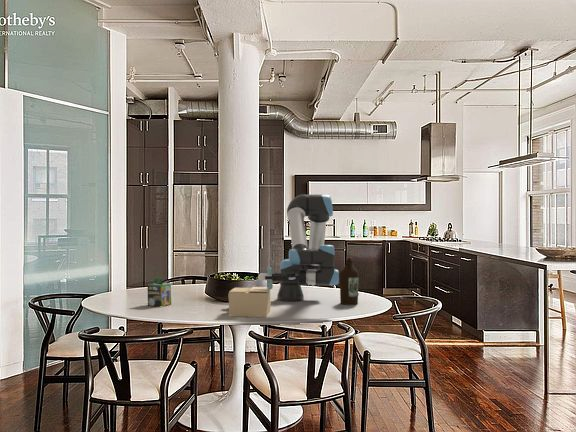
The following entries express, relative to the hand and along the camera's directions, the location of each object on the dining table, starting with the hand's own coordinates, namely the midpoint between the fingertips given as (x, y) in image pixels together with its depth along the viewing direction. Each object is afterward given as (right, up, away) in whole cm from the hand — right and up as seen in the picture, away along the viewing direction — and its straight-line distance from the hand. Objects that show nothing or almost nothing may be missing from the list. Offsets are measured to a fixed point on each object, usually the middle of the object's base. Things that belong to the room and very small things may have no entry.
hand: (259, 276), depth 274 cm
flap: (+1, -7, 0) cm, 7 cm away
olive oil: (+47, -18, +32) cm, 60 cm away
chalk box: (-55, -18, +26) cm, 63 cm away
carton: (-4, -18, 0) cm, 19 cm away
